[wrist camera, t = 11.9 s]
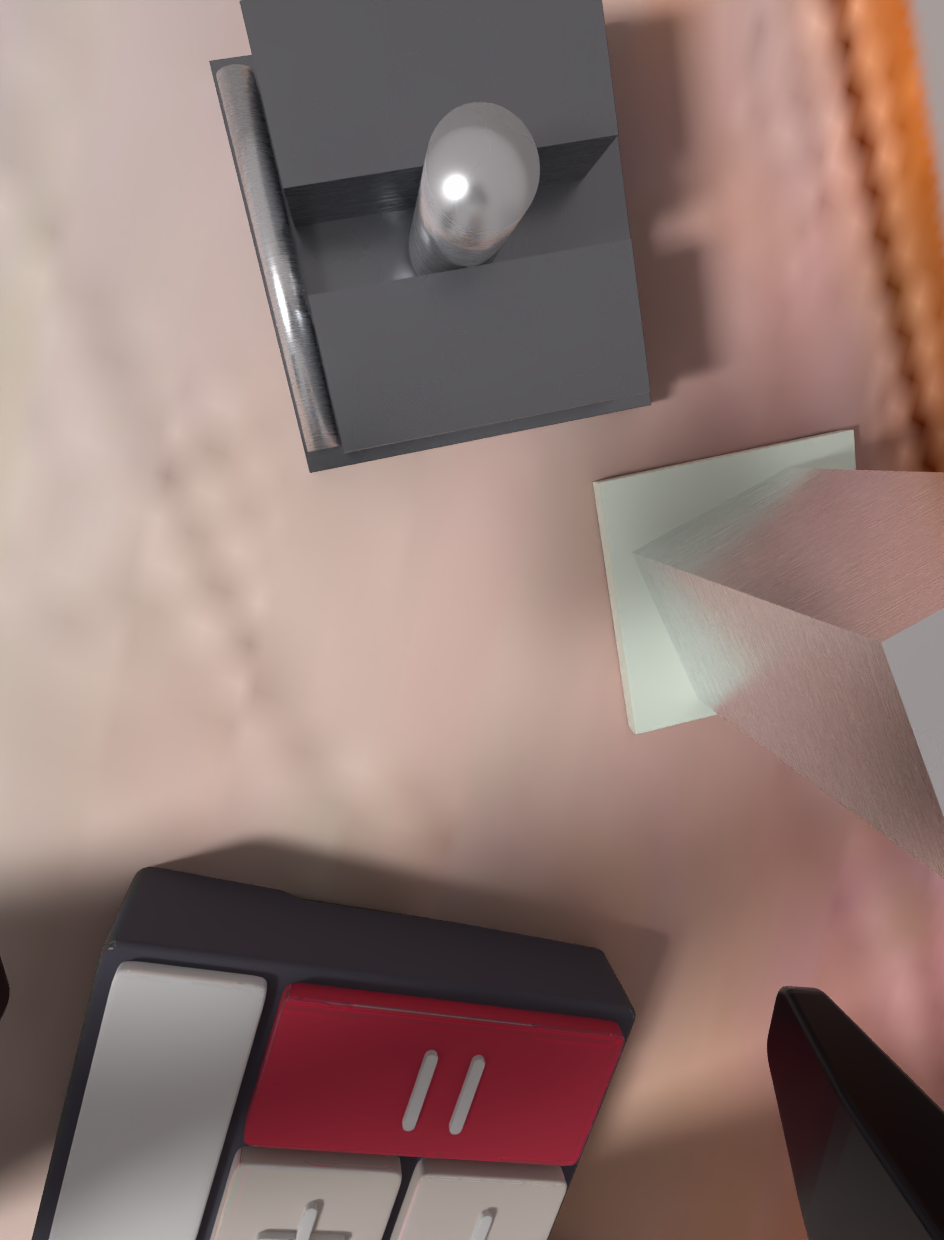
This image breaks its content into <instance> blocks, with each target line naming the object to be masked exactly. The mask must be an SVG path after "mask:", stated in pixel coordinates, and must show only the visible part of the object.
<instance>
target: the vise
mask: <svg viewBox="0 0 944 1240" xmlns="http://www.w3.org/2000/svg"><path fill="white" fill-rule="evenodd" d="M240 5H241V9H242V13H243V18H244V22H245V26H246V31H247V35H248V39H249V44H250V48H251V52H252V55H248V56H241V57H234V58H227V59H220V60H213V61H209V62H210V66H211V70H212V74H213V78H214V82H215V86H216V91H217V95H218V99H219V103H220V107H221V111H222V115H223V119H224V123H225V127H226V131H227V136H228V140H229V144H230V148H231V152H232V156H233V160H234V164H235V168H236V172H237V176H238V181H239V185H240V189H241V193H242V197H243V201H244V205H245V209H246V213H247V217H248V221H249V226H250V230H251V234H252V238H253V242H254V246H255V250H256V254H257V258H258V262H259V266H260V271H261V275H262V279H263V283H264V287H265V291H266V295H267V299H268V303H269V307H270V311H271V316H272V320H273V324H274V328H275V332H276V336H277V340H278V344H279V348H280V352H281V356H282V361H283V365H284V369H285V373H286V377H287V381H288V385H289V389H290V393H291V397H292V401H293V406H294V410H295V414H296V418H297V422H298V426H299V430H300V434H301V438H302V442H303V446H304V451H305V455H306V459H307V463H308V467H309V471H310V473H312V472H317V471H322V470H327V469H332V468H337V467H342V466H347V465H352V464H357V463H362V462H367V461H372V460H377V459H382V458H387V457H392V456H397V455H402V454H407V453H412V452H417V451H422V450H427V449H432V448H437V447H442V446H447V445H452V444H457V443H462V442H467V441H472V440H477V439H482V438H487V437H492V436H497V435H502V434H507V433H512V432H518V431H523V430H528V429H533V428H538V427H543V426H548V425H553V424H558V423H563V422H568V421H573V420H578V419H583V418H588V417H593V416H598V415H603V414H608V413H613V412H618V411H623V410H628V409H633V408H638V407H643V406H648V405H651V400H650V386H649V378H648V369H647V361H646V353H645V345H644V337H643V329H642V321H641V313H640V305H639V297H638V288H637V280H636V272H635V264H634V256H633V248H632V240H631V239H630V230H629V222H628V214H627V206H626V198H625V190H624V182H623V174H622V166H621V158H620V150H619V142H618V127H617V118H616V110H615V102H614V94H613V86H612V78H611V70H610V62H609V54H608V46H607V37H606V29H605V21H604V13H603V5H602V0H241V1H240Z"/></svg>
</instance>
